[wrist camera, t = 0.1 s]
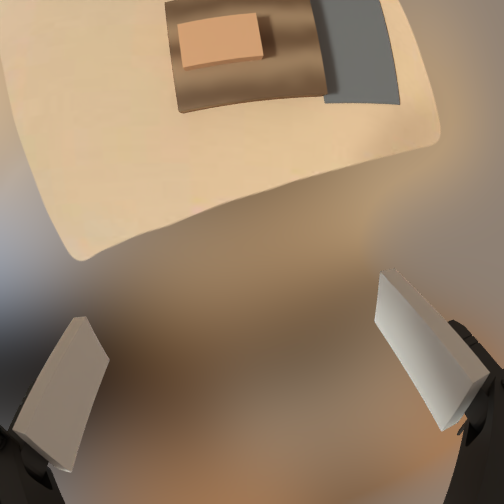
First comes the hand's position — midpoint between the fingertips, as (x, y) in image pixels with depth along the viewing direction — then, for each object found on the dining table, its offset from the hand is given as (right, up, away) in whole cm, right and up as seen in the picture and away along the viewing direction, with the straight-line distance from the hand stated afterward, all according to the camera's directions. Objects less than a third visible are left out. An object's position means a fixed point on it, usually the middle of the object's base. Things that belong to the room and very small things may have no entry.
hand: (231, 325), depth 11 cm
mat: (+15, +32, +18) cm, 39 cm away
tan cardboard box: (-3, +28, +15) cm, 31 cm away
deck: (0, +29, +18) cm, 34 cm away
